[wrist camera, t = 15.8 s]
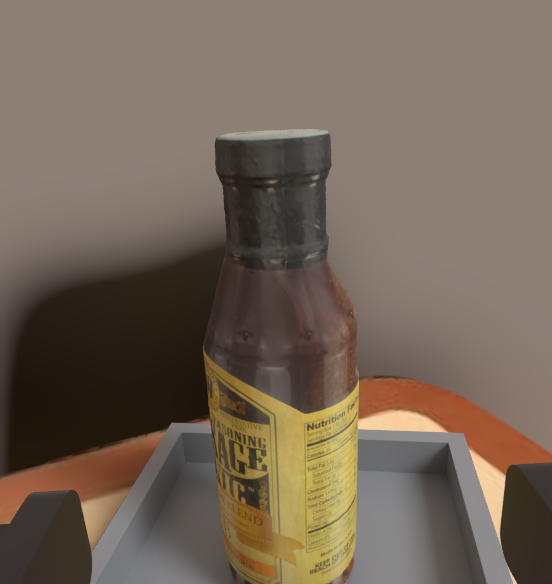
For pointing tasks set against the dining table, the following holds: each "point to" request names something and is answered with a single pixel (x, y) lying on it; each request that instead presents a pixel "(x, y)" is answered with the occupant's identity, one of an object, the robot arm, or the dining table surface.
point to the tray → (369, 520)
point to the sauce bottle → (282, 367)
